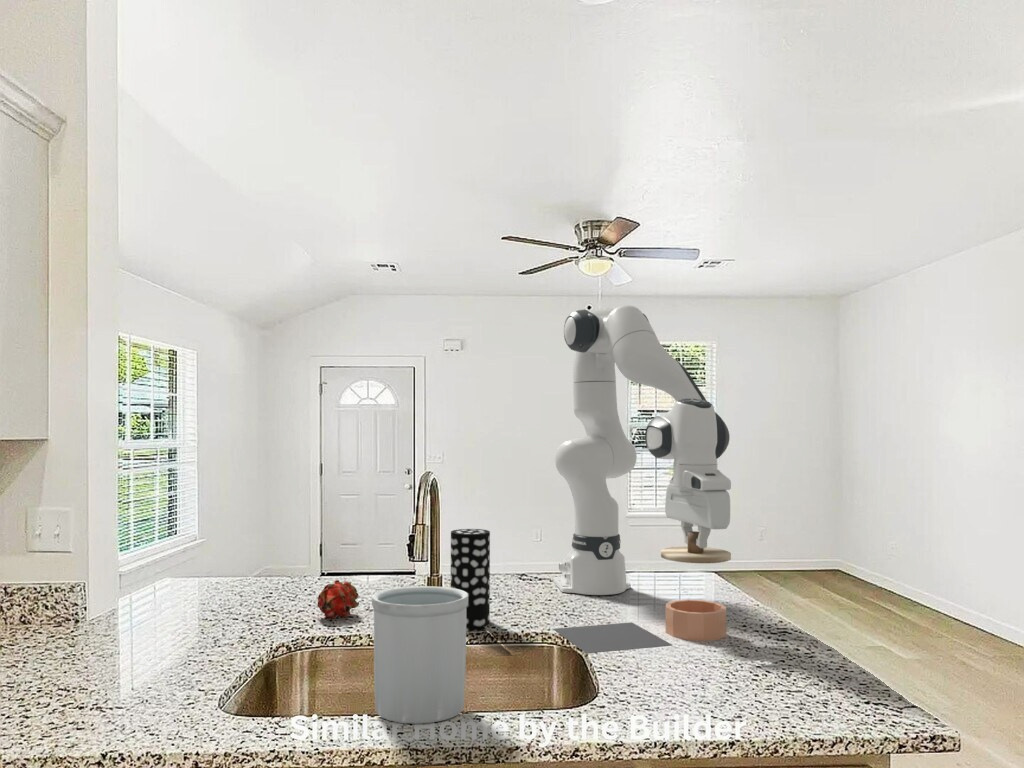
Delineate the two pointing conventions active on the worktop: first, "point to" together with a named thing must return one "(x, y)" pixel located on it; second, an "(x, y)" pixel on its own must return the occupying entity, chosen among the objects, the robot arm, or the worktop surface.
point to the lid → (695, 552)
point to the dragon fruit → (337, 599)
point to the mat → (611, 637)
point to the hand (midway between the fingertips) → (695, 545)
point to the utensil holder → (419, 653)
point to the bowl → (696, 620)
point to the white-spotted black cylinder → (472, 573)
